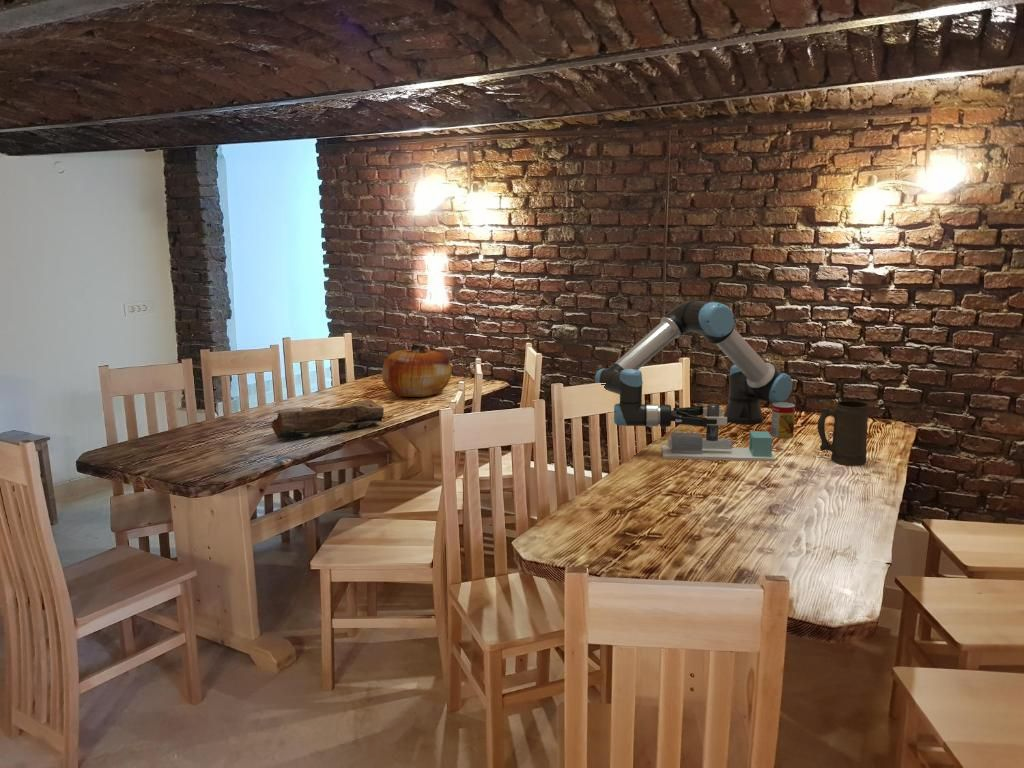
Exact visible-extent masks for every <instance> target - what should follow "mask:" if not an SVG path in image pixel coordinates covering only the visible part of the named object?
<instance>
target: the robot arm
mask: <svg viewBox="0 0 1024 768" xmlns="http://www.w3.org/2000/svg"><path fill="white" fill-rule="evenodd" d="M734 317H735V316H734V313H733V311H732V309H731V308H730V307H729V306H728V305H726V304H723V303H721V302H717V301H704V300H703V301H701V300H695V299H693V300H692V299H691V300H687V301H685V302H682V303H680V304H678V305H677V306H675V307H674V308H672V309H670V310H669V311H668V312H667V313H666V314H665V315H663V316H662V318H660V323H659V324H657V325H656V326H655V327H654V328H653V329H651V330H650V331H649V332H648V333H647V334H646V335H644V337H643V338H641V339H640V340H639V341H638V342H637V343H635V345H634V346H632V347H631V348H630V349H629V350H628V351H627V352H626V353H624V354H623V355H622V356H621V357H619V359H617V360H616V361H615V362H614V363H613V364H612V365H611V366H610V367H608V368H600V369H599V370H597V371H596V374H595V376H594V382H595V384H596V383H606V384H601V385H605V386H604V388H605V389H606V390H608V391H607V392H611V393H614V394H617V395H619V403H615V404H614V406H613V423H614V424H615V425H616V426H622V427H623V426H626V427H649V428H650V429H651V428H652V427H659V426H660V427H661V428H662V427H667V428H668V427H671V426H672V425H671V424H672V422H674V423H675V425H685V426H693V427H702V428H705V429H706V427H707V425H719V426H728V423H730V424H734V425H741V426H742V425H748V426H749V425H758V424H759V425H760V424H761V423H763V421H764V415H763V413H762V409H761V404H760V400H761V401H764V402H769V403H771V404H773V403H777V402H786V401H787V400H788V398H789V397H790V395H791V393H792V390H793V380H792V377H791V376H790V375H789V374H787V373H785V372H780V371H779V370H778V369H777V368H776V367H775V366H774V365H773V364H772V363H770V362H765V361H764V360H763V359H762V357H761V356H760V355H759V354H758V353H757V352H756V351H755V349H753V347H752V346H751V345H750V344H749V343H748V342H747V341H746V340H745V338H744V337H743V336H742V335H741V334H740V333H739V332H738V331H737V330H736V329H735V328H736V323H735V319H734ZM687 333H694V334H699V335H701V336H702V337H703V339H704V340H705V341H707V343H708V344H710V345H716V346H717V347H718V348H719V349H720V350H721V352H723V354H725V356H726V357H727V358H728V359H729V360H730V361H731V362H732V363H733V365H732V366H731V367H730V369H729V371H730V372H729V377H728V378H729V381H728V384H729V386H728V402H727V405H726V407H725V411H724V412H723V410H724V409H723V408H721V407H719V417H707V407H704V406H703V405H700V406H687V407H686V406H685V407H673V409H672V406H671V404H660V405H659V404H656V403H655V404H651V403H650V404H645V403H643V400H642V399H643V397H642V395H643V382H644V381H643V373H642V371H641V370H640V369H641V368H642V367H643V366H644V365H646V364H647V363H648V362H649V361H650V360H651V359H652V358H654V356H655V355H657V354H658V353H659V352H660V351H662V350H663V349H664V348H665V347H666V346H668V344H669V343H670V342H672V340H674V339H679V338H680V337H682V336H683V335H685V334H687ZM606 390H605V391H606Z"/></svg>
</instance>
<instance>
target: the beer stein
mask: <svg viewBox="0 0 1024 768" xmlns="http://www.w3.org/2000/svg"><path fill="white" fill-rule="evenodd" d="M869 407H870V406H869V404H868V403H866V402H863V401H858V400H842V401H837V403H836V405H835V408H834V409H830V408H828V407H822V408H821V413H820V415H819V418H818V420H817V433H818V435H819V439H820V440H821V444H820V446H819V449H820V451H821V452H823V451H829V452H830V453H831V456H830V460H831V461H832V462H833V463H836V464H837V465H841V466H842V465H843V466H847V467H858V466H859V467H860V466H864V465H866V463H867V454H868V453H867V452H868V451H867V444H868V443H867V440H868V417H869V416H868V415H869V412H870V408H869ZM828 417H833V418H834V422H833V433H832V443H829V442H828V439H827V435H826V431H825V423H826V419H827V418H828Z"/></svg>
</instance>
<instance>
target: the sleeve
mask: <svg viewBox="0 0 1024 768" xmlns="http://www.w3.org/2000/svg"><path fill="white" fill-rule="evenodd" d="M670 437H672V448H671V451H672V453H684V454H702V438H703V435H702V433H701V432H680V431H679V432H678V431H677V432H675V431H674V432H672V431H671V436H670Z"/></svg>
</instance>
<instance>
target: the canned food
mask: <svg viewBox="0 0 1024 768" xmlns="http://www.w3.org/2000/svg"><path fill="white" fill-rule="evenodd" d="M771 404H772V406H771V407H772V409H771V427H770V435H771V437H772V438H775V439H781V440H782V439H783V440H790V439H793V438H794V430H795V413H796V404H794V403H791V402H786V401H784V402H777V403H771Z"/></svg>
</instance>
